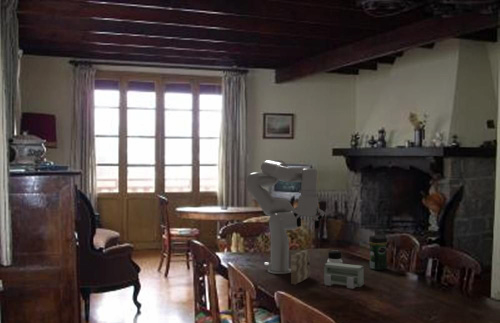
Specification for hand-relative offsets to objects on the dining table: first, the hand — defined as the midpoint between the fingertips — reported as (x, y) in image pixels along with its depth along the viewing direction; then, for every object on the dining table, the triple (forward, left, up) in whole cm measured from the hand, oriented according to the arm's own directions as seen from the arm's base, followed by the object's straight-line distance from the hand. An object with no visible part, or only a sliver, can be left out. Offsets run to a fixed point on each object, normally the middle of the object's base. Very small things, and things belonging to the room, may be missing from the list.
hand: (307, 227), depth 264 cm
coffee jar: (+24, +44, -27) cm, 57 cm away
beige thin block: (-3, -2, -27) cm, 27 cm away
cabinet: (+18, 0, -26) cm, 32 cm away
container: (+9, +15, -27) cm, 32 cm away
